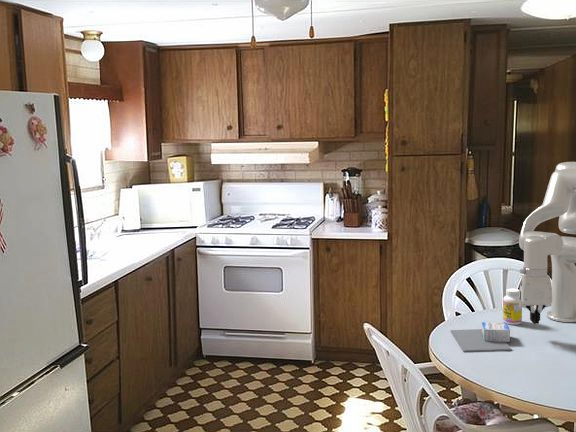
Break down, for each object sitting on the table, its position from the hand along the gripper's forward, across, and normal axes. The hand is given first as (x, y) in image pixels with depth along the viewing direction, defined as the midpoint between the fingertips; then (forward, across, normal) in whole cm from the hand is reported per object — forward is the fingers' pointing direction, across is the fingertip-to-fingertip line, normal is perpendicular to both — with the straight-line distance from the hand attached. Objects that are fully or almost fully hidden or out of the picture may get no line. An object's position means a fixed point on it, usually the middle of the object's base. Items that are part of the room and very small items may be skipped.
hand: (535, 322), depth 215 cm
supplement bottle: (+6, -2, +18) cm, 19 cm away
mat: (+6, -19, 0) cm, 20 cm away
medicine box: (+3, -9, 0) cm, 10 cm away
